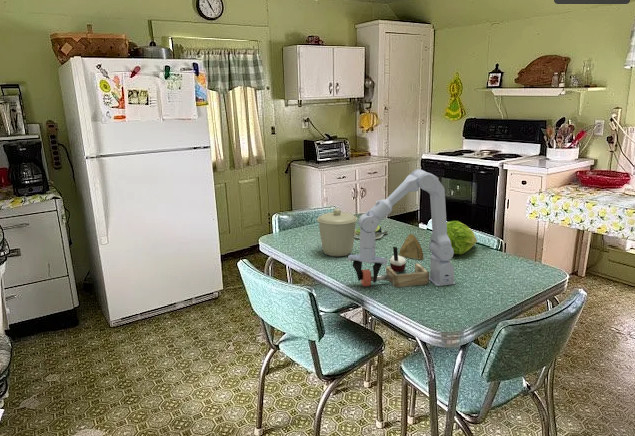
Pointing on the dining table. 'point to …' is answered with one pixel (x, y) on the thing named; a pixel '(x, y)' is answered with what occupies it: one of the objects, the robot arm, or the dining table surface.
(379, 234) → the salad plate
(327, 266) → the dining table surface
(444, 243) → the robot arm
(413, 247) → the rock
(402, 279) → the dock
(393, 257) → the cocoa
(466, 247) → the lettuce
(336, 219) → the canister
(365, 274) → the lock pin
